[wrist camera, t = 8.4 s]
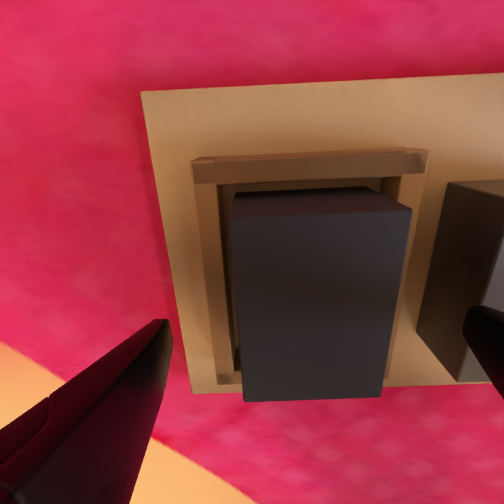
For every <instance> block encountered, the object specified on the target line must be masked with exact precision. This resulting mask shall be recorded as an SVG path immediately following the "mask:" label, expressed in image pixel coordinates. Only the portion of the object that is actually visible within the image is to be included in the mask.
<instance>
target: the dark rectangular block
mask: <svg viewBox="0 0 504 504" xmlns="http://www.w3.org/2000/svg"><path fill="white" fill-rule="evenodd" d="M412 214H413V209H412V208H410V207H408V206H405V205H403V204H401V203H399V202H397V201H395V200H393V199H391V198H389V197H387V196H385V195H383V194H381V193H379V192H377V191H374V190H372V189H370V188H368V187H366V186H356V187H336V188H315V189H294V190H274V191H253V192H236V193H235V196H234V200H233V204H232V208H231V212H230V216H229V231H230V243H231V255H232V267H233V279H234V292H235V304H236V316H237V328H238V340H239V352H240V365H241V377H242V389H243V400H244V402H265V401H291V400H318V399H345V398H372V397H381V393H382V387H383V381H384V375H385V370H386V364H387V358H388V352H389V347H390V341H391V335H392V329H393V323H394V318H395V312H396V306H397V300H398V295H399V289H400V283H401V277H402V271H403V266H404V260H405V254H406V248H407V243H408V237H409V231H410V225H411V219H412Z"/></svg>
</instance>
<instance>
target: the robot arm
mask: <svg viewBox="0 0 504 504" xmlns="http://www.w3.org/2000/svg"><path fill="white" fill-rule="evenodd" d="M461 332H462V336H463V338H464V340H465V341H466V343H467V344H468V346H469V348H470V349H471V351H472V352H473V354H474V356H475V357H476V359H477V360H478V362H479V364H480V365H481V367H482V368H483V370H484V372H485V373H486V375H487V376H488V378H489V379H490V381H491V383H492V384H493V385H494V387H495V388H496V390H497V391H498V392H499V394H500V395H501V396H502V398H503V399H504V312H502V311H499V310H496V309H493V308H490V307H488V306H471V307H469V308H468V309H467V311H466V314H465V317H464V321H463V324H462V328H461ZM172 351H173V337H172V332H171V327H170V322H169V320H168V319H154V320H152V321H151V322H150V323H148V324H147V325H146V326H144V327H143V328H141V329H140V330H139V331H137V332H136V333H135V334H133V335H132V336H130V337H129V338H128V339H126V340H125V341H123V342H122V343H121V344H119V345H118V346H117V347H115V348H114V349H112V350H111V351H110V352H108V353H107V354H105V355H104V356H103V357H101V358H100V359H99V360H97V361H96V362H94V363H93V364H92V365H90V366H89V367H88V368H86V369H85V370H83V371H82V372H81V373H79V374H78V375H76V376H75V377H74V378H72V379H71V380H70V381H68V382H67V383H65V384H64V385H63V386H61V387H60V388H58V389H57V390H56V391H54V392H53V393H52V394H50V396H49V397H46V398H44V399H43V400H42V401H40V402H39V403H38V404H36V405H35V406H34V407H32V408H31V409H29V410H28V411H26V412H25V413H24V414H23V415H21V416H19V417H18V418H16V419H15V420H14V421H12V422H11V423H9V424H8V425H7V426H5V427H3V428H2V429H1V430H0V504H129V503H130V500H131V496H132V493H133V490H134V487H135V483H136V481H137V478H138V474H139V471H140V468H141V465H142V462H143V459H144V456H145V452H146V449H147V446H148V443H149V440H150V437H151V434H152V430H153V427H154V424H155V421H156V418H157V415H158V412H159V409H160V405H161V402H162V399H163V395H164V390H165V386H166V381H167V376H168V371H169V366H170V361H171V356H172Z"/></svg>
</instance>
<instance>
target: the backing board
mask: <svg viewBox="0 0 504 504" xmlns="http://www.w3.org/2000/svg"><path fill="white" fill-rule="evenodd" d="M140 96H141V101H142V107H143V113H144V119H145V125H146V130H147V136H148V142H149V148H150V154H151V159H152V165H153V171H154V177H155V182H156V188H157V194H158V200H159V206H160V211H161V217H162V223H163V229H164V235H165V240H166V246H167V252H168V258H169V263H170V269H171V275H172V281H173V287H174V292H175V298H176V304H177V310H178V315H179V321H180V327H181V333H182V339H183V344H184V350H185V356H186V362H187V368H188V373H189V379H190V385H191V391H192V394H208V393H236V392H243V389H242V377H241V365H240V352H239V340H238V328H237V316H236V304H235V292H234V279H233V267H232V255H231V243H230V231H229V216H230V212H231V208H232V204H233V200H234V196H235V193H236V192H253V191H274V190H294V189H315V188H336V187H356V186H366V187H368V188H370V189H372V190H374V191H377V192H379V193H381V194H383V195H385V196H387V197H389V198H391V199H393V200H395V201H397V202H399V203H401V204H403V205H405V206H408V207H410V208H412V209H413V214H412V219H411V225H410V231H409V237H408V243H407V248H406V254H405V260H404V266H403V271H402V277H401V283H400V289H399V295H398V300H397V306H396V312H395V318H394V323H393V329H392V335H391V341H390V347H389V352H388V358H387V364H386V370H385V375H384V381H383V387H401V386H429V385H457V384H484V383H491V381H490V379H489V378H488V376H487V375H486V373H485V372H484V370H483V368H482V367H481V365H480V364H479V362H478V360H477V359H476V357H475V356H474V354H473V352H472V351H471V349H470V348H469V346H468V344H467V343H466V341H465V340H464V338H463V336H462V332H461V328H462V324H463V321H464V317H465V314H466V311H467V309H468V308H469V307H471V306H488V307H490V308H493V309H496V310H499V311H502V312H504V72H503V73H484V74H465V75H445V76H426V77H406V78H387V79H368V80H348V81H329V82H310V83H290V84H271V85H252V86H232V87H213V88H193V89H174V90H155V91H141V92H140Z"/></svg>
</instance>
